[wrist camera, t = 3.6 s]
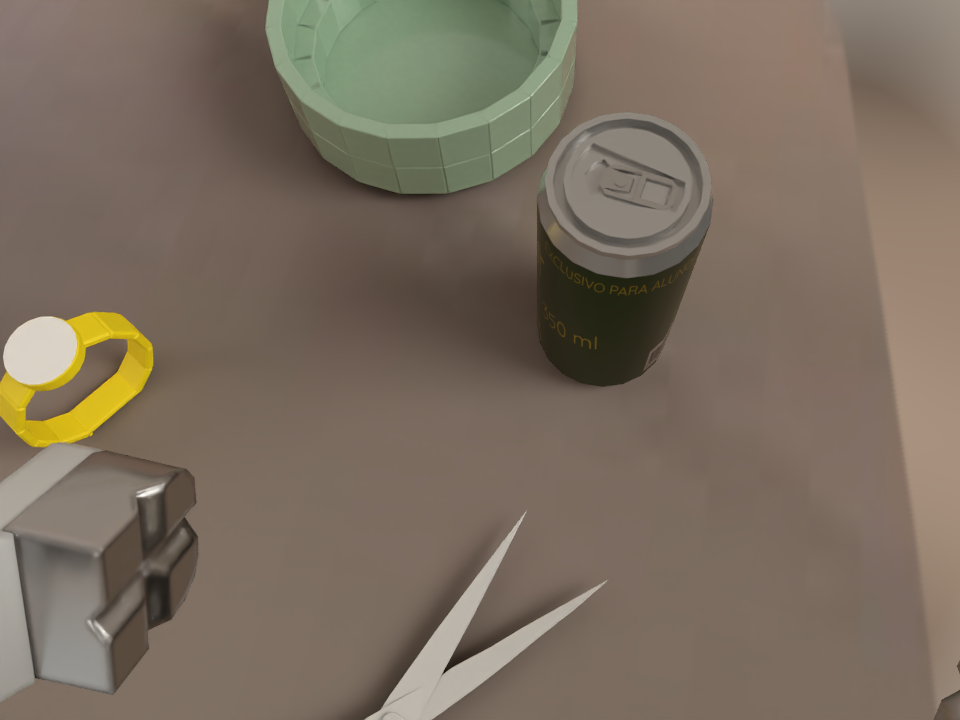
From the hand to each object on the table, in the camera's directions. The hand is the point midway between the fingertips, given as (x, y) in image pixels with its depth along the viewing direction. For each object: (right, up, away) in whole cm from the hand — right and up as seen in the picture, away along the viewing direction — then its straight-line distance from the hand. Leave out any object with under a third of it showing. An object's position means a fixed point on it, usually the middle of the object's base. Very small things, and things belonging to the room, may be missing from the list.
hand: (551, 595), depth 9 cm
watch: (-17, +1, +29) cm, 33 cm away
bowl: (-3, +16, +33) cm, 37 cm away
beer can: (+4, +4, +28) cm, 29 cm away
